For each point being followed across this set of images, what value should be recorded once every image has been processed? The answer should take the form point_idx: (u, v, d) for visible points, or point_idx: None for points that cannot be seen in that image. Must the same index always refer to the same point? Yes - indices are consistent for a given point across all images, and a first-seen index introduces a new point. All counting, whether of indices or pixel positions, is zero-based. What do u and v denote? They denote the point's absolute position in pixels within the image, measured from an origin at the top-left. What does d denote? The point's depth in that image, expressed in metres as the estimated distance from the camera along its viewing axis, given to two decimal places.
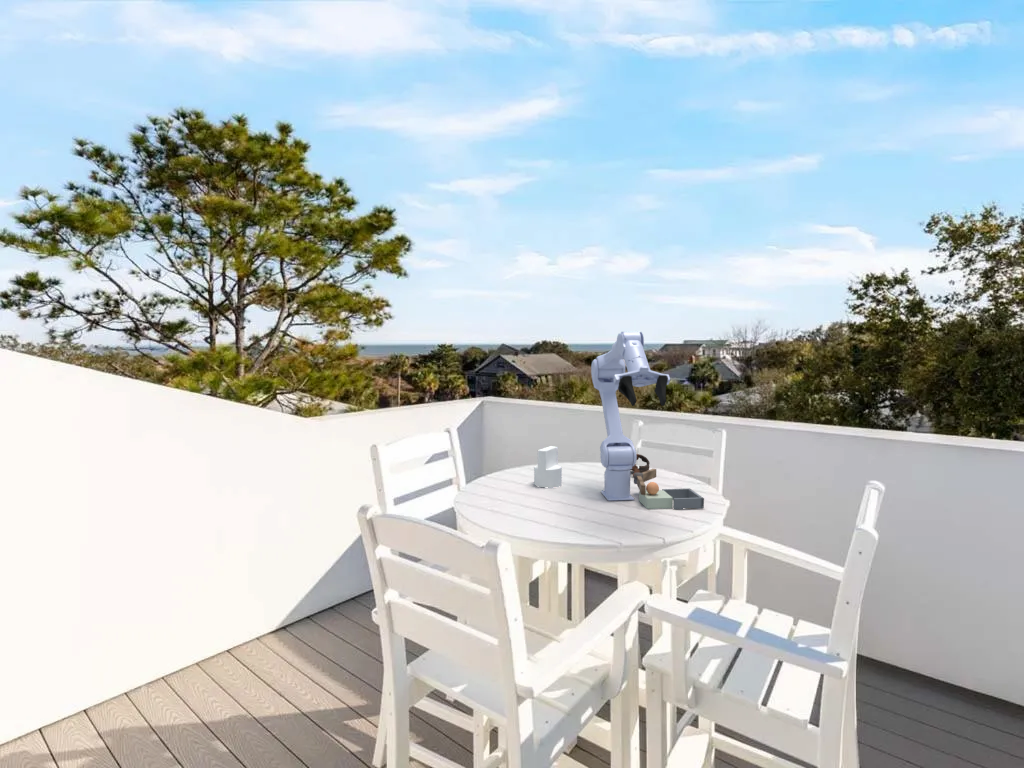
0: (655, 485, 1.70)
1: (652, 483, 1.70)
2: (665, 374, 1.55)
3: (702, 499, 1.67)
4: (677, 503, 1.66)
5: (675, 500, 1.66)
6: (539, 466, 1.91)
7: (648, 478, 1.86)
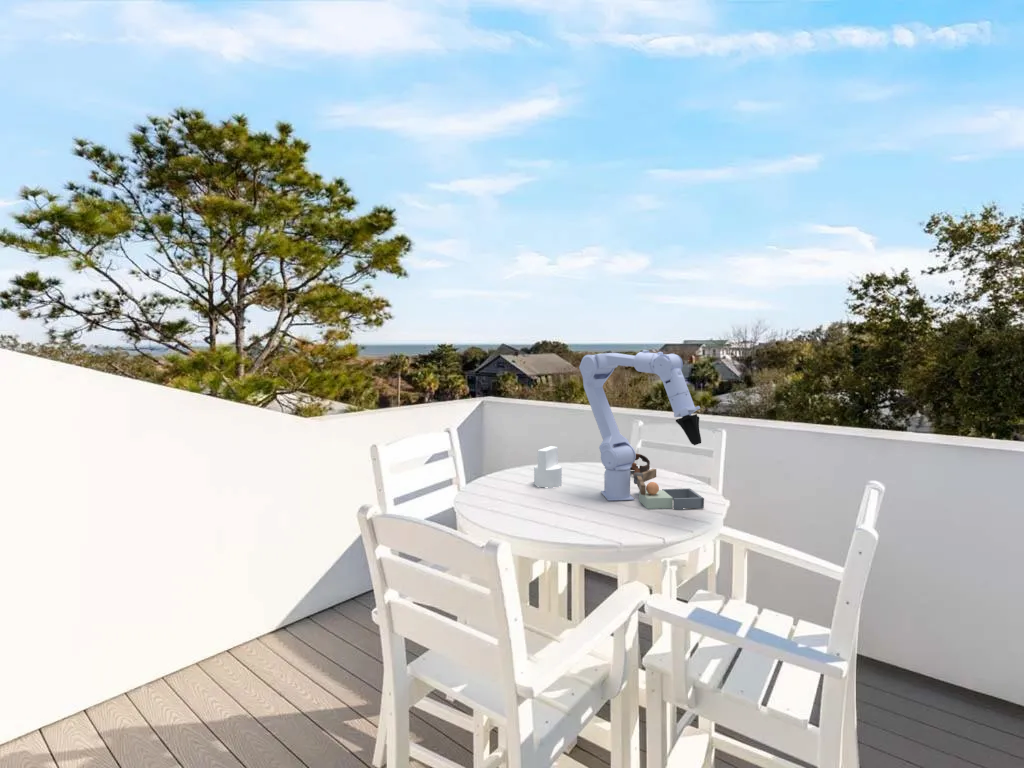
0: (655, 485, 1.70)
1: (652, 483, 1.70)
2: None
3: (702, 499, 1.67)
4: (677, 503, 1.66)
5: (675, 500, 1.66)
6: (539, 466, 1.91)
7: (648, 478, 1.86)
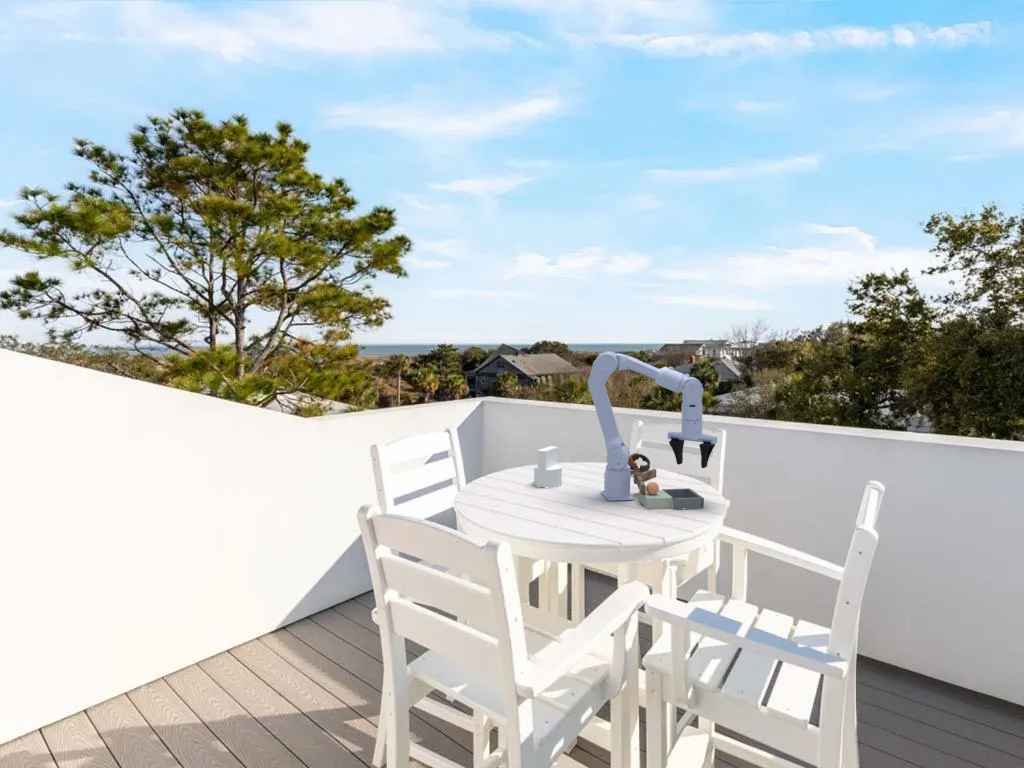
0: (655, 485, 1.70)
1: (652, 483, 1.70)
2: (673, 432, 1.78)
3: (702, 499, 1.67)
4: (677, 503, 1.66)
5: (675, 500, 1.66)
6: (539, 466, 1.91)
7: (648, 478, 1.86)
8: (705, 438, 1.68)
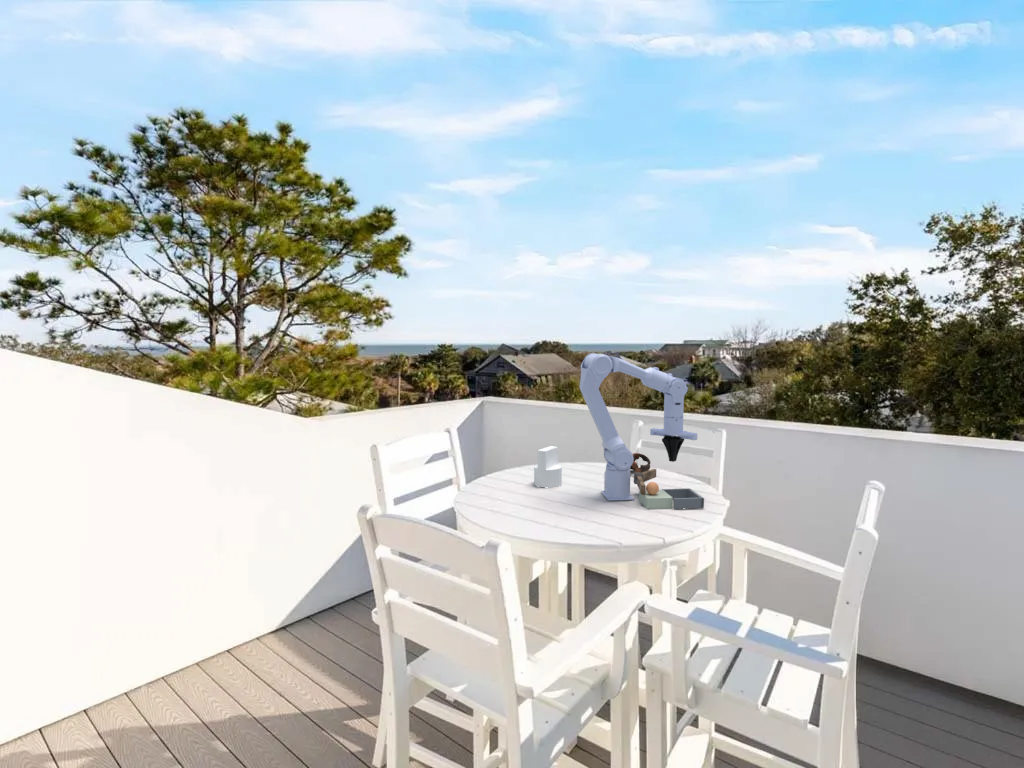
0: (655, 485, 1.70)
1: (652, 483, 1.70)
2: None
3: (702, 499, 1.67)
4: (677, 503, 1.66)
5: (675, 500, 1.66)
6: (539, 466, 1.91)
7: (648, 478, 1.86)
8: (686, 435, 1.76)
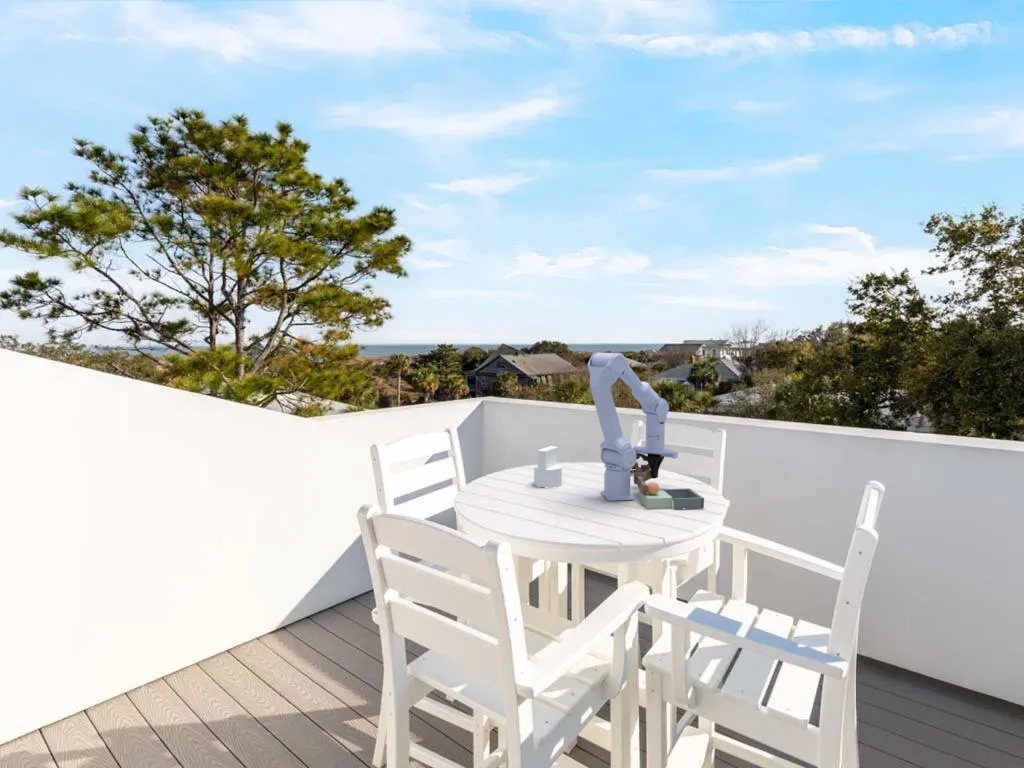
0: (655, 485, 1.70)
1: (652, 483, 1.70)
2: (638, 446, 1.92)
3: (702, 499, 1.67)
4: (677, 503, 1.66)
5: (675, 500, 1.66)
6: (539, 466, 1.91)
7: (647, 478, 1.86)
8: (667, 453, 1.83)
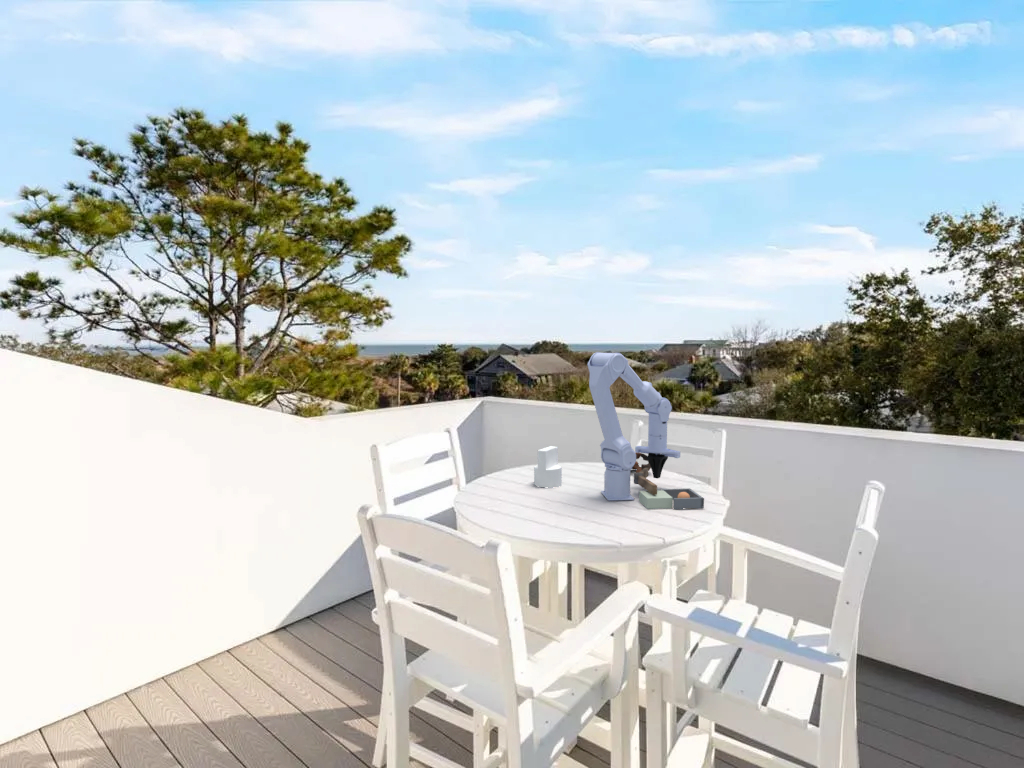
0: (684, 495, 1.70)
1: (680, 495, 1.70)
2: (640, 446, 1.92)
3: (702, 499, 1.67)
4: (677, 503, 1.66)
5: (675, 500, 1.66)
6: (539, 466, 1.91)
7: None
8: (669, 453, 1.82)
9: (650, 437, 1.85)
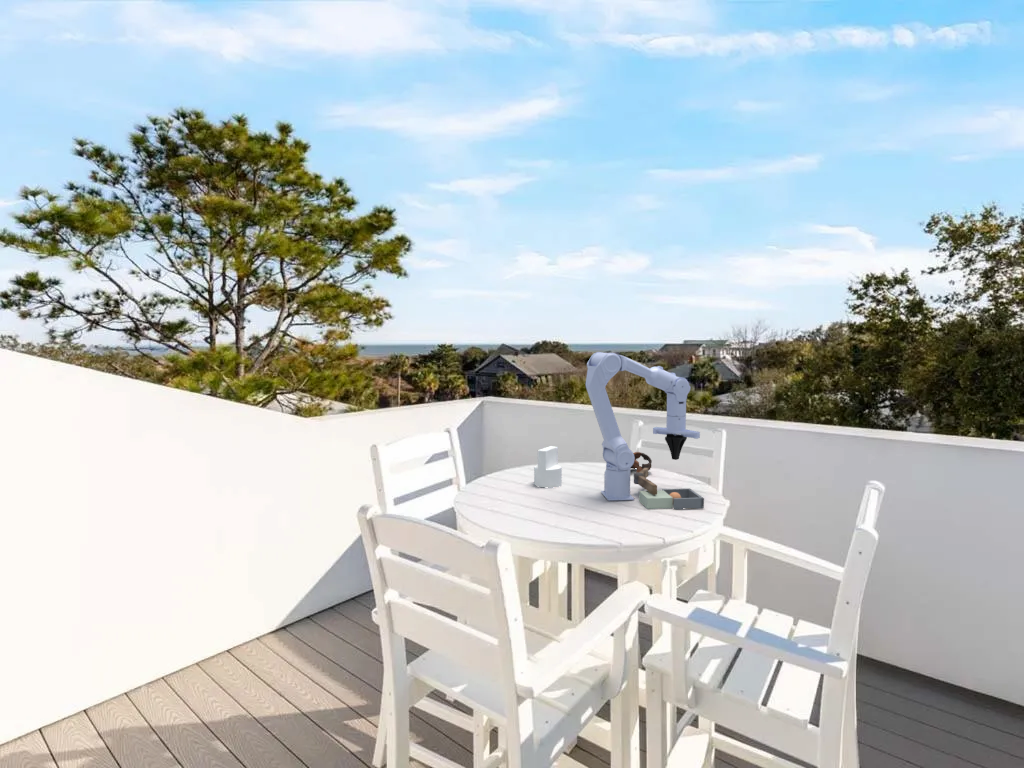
0: None
1: None
2: (658, 427, 1.88)
3: (702, 499, 1.67)
4: (677, 503, 1.66)
5: (675, 500, 1.66)
6: (539, 466, 1.91)
7: None
8: (688, 433, 1.79)
9: (669, 417, 1.81)
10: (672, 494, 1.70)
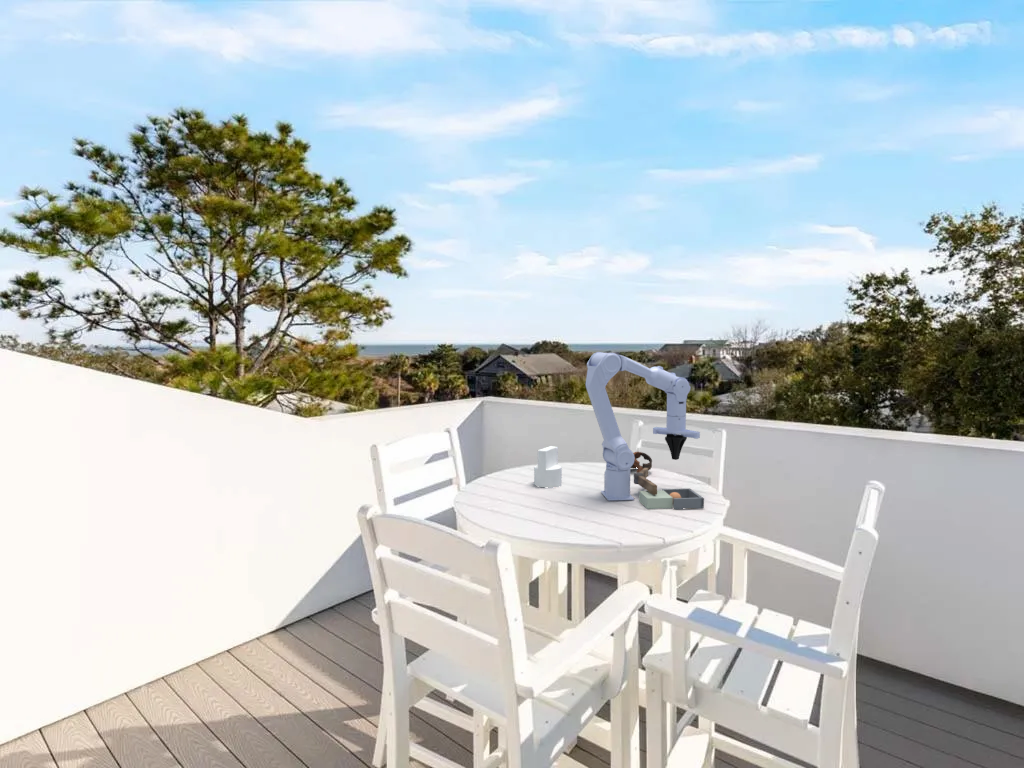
0: None
1: None
2: (658, 427, 1.88)
3: (702, 499, 1.67)
4: (677, 503, 1.66)
5: (675, 500, 1.66)
6: (539, 466, 1.91)
7: None
8: (688, 433, 1.79)
9: (669, 417, 1.81)
10: (672, 494, 1.70)
